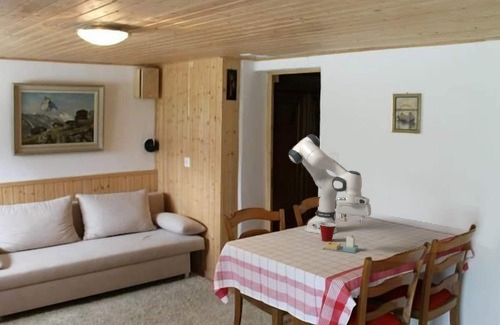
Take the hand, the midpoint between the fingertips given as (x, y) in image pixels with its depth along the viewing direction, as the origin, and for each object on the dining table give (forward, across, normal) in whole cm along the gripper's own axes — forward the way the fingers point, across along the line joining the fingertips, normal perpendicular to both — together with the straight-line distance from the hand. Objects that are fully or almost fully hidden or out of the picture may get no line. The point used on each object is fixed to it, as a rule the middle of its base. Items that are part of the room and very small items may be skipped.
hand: (353, 222), depth 303 cm
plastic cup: (+18, -20, +14) cm, 30 cm away
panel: (+18, -6, -1) cm, 19 cm away
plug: (+17, -1, -1) cm, 17 cm away
